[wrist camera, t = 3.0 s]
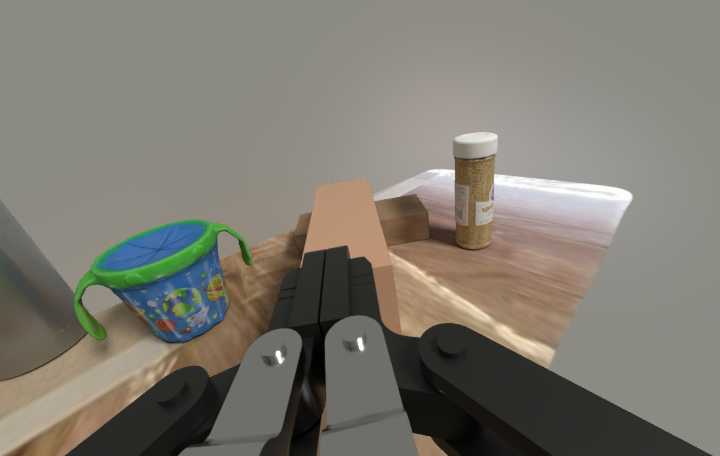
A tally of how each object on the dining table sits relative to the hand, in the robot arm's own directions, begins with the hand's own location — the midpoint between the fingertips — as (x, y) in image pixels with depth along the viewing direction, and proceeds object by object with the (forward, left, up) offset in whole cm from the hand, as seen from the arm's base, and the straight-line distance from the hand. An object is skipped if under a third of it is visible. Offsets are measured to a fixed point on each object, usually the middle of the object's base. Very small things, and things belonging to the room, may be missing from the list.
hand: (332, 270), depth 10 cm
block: (0, +12, -15) cm, 20 cm away
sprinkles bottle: (+15, +23, -15) cm, 32 cm away
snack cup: (-19, +17, -15) cm, 30 cm away
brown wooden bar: (+1, +29, -15) cm, 33 cm away
